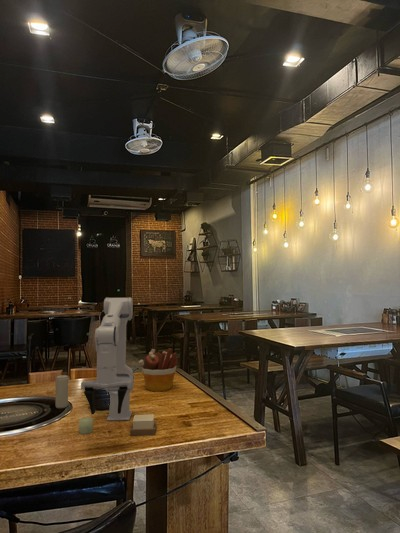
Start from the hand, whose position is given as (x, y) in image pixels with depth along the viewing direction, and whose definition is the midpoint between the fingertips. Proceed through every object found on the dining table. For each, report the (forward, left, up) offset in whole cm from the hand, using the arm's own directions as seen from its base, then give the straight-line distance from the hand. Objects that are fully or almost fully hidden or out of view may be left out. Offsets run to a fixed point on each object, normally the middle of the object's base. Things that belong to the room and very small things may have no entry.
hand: (106, 413), depth 117 cm
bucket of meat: (-68, +13, -10) cm, 70 cm away
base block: (-13, +10, -11) cm, 20 cm away
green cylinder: (-14, -9, -10) cm, 20 cm away
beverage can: (-43, -25, -10) cm, 51 cm away
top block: (-13, +10, -8) cm, 18 cm away
